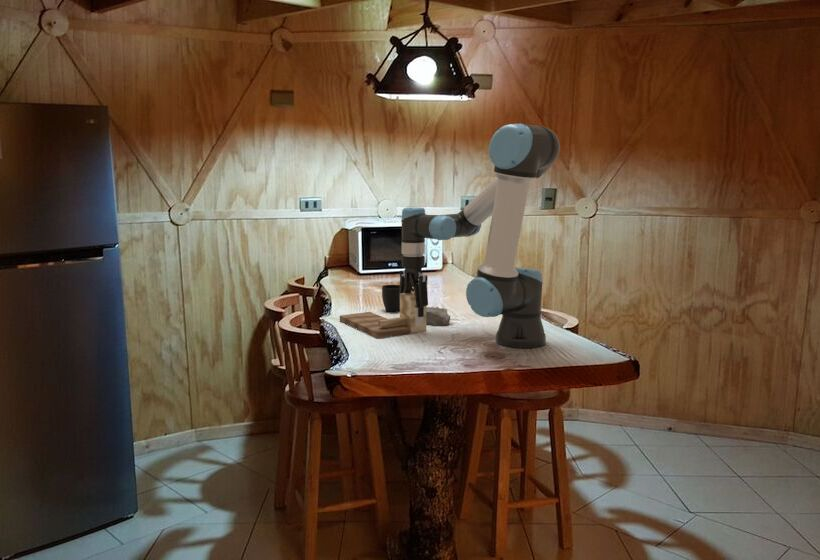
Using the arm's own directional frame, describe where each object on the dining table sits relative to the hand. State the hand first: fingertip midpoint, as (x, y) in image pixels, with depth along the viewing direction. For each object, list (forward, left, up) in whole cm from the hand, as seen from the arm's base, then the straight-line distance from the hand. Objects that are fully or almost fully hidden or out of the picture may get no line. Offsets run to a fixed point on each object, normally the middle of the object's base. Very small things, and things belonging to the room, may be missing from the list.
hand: (413, 323), depth 206 cm
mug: (+28, -10, -2) cm, 30 cm away
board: (+10, +10, -2) cm, 14 cm away
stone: (+4, -11, -2) cm, 12 cm away
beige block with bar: (0, +5, -2) cm, 5 cm away
